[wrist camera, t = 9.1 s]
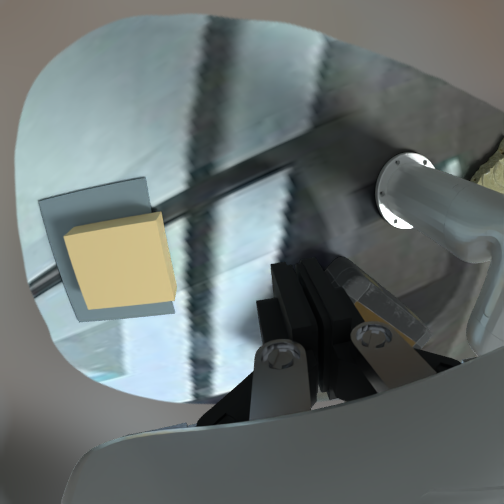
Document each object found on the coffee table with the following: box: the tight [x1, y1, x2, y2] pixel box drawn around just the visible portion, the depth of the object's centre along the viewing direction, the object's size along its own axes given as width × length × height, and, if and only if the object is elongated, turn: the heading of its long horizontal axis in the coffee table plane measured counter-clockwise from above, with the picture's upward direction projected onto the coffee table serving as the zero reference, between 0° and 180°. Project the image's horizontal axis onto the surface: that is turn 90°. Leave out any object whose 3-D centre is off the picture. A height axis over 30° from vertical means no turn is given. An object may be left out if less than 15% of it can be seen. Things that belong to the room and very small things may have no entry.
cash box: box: [318, 257, 431, 385], centre depth 52 cm, size 25×20×8 cm
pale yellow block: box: [63, 212, 177, 310], centre depth 43 cm, size 4×12×14 cm
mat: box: [39, 177, 175, 322], centre depth 44 cm, size 18×22×1 cm
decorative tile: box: [470, 138, 504, 194], centre depth 47 cm, size 19×20×4 cm
